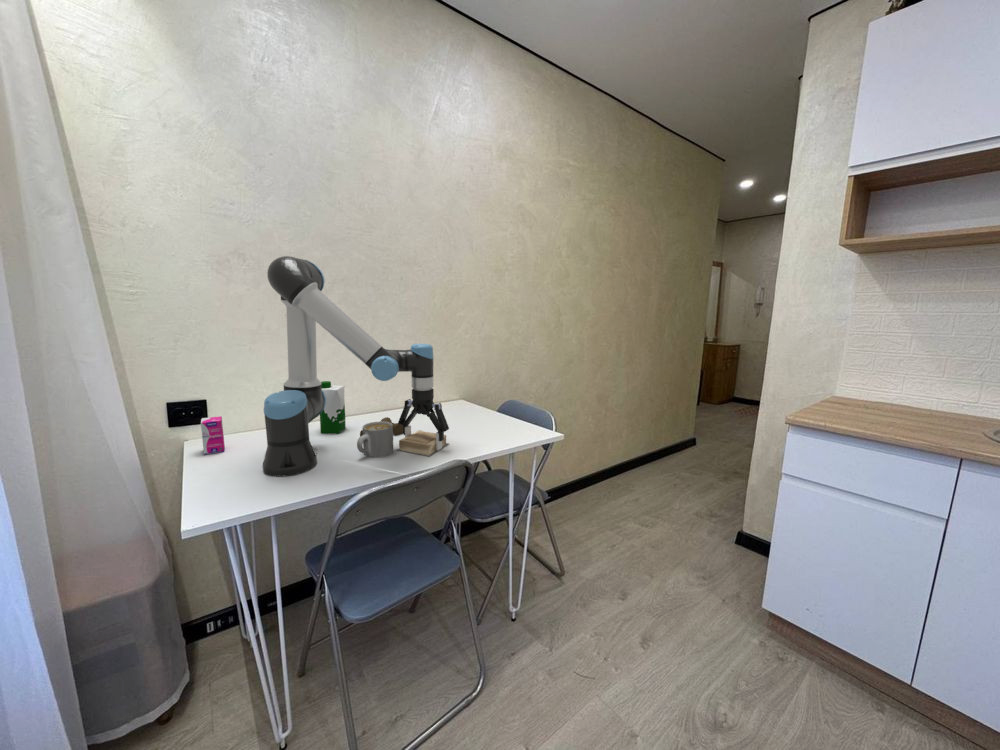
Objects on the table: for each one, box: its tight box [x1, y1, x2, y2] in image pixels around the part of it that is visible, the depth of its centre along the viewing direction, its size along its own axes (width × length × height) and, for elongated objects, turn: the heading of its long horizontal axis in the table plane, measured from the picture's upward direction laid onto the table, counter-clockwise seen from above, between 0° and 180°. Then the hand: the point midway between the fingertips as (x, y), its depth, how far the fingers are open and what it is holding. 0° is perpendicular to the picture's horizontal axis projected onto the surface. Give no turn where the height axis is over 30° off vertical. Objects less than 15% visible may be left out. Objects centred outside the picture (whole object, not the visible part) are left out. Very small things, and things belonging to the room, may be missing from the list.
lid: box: [398, 430, 447, 456], centre depth 143 cm, size 12×12×4 cm
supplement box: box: [200, 416, 226, 456], centre depth 136 cm, size 6×6×12 cm
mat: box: [395, 442, 450, 458], centre depth 143 cm, size 14×14×1 cm
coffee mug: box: [356, 421, 394, 458], centre depth 136 cm, size 13×10×10 cm
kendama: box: [359, 416, 403, 437], centre depth 155 cm, size 6×10×20 cm
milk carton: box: [319, 380, 347, 435], centre depth 158 cm, size 9×9×20 cm
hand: (423, 446), depth 143 cm, fingers open, 12 cm apart
